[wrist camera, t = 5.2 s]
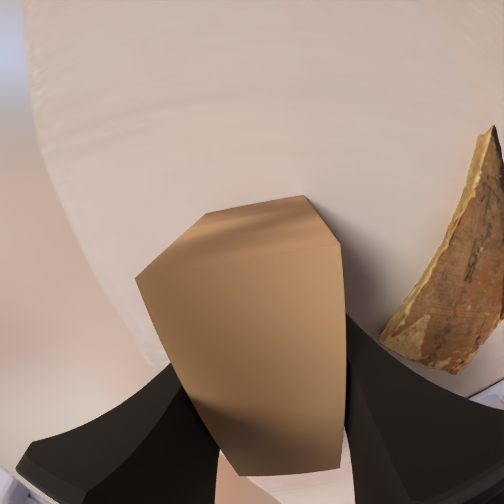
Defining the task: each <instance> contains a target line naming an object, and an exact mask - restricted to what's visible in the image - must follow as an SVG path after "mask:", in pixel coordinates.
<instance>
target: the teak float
mask: <svg viewBox="0 0 504 504" xmlns="http://www.w3.org/2000/svg"><path fill="white" fill-rule="evenodd" d="M135 280H136V282H137V285H138V288H139V290H140V293H141V296H142V298H143V301H144V303H145V306H146V308H147V311H148V313H149V315H150V318H151V320H152V322H153V325H154V327H155V329H156V332H157V334H158V336H159V338H160V341H161V343H162V345H163V347H164V349H165V351H166V353H167V355H168V358H169V360H170V362H171V364H172V366H173V368H174V370H175V372H176V374H177V376H178V378H179V379H180V381H181V383H182V385H183V387H184V389H185V391H186V393H187V394H188V396H189V398H190V400H191V402H192V403H193V405H194V407H195V409H196V410H197V412H198V414H199V416H200V417H201V419H202V421H203V422H204V424H205V426H206V427H207V429H208V430H209V432H210V434H211V435H212V437H213V438H214V440H215V442H216V443H217V445H218V446H219V448H220V449H221V451H222V452H223V454H224V455H225V457H226V458H227V460H228V461H229V462H230V464H231V465H232V467H233V468H234V470H235V471H236V472H237V474H238V475H239V476H276V475H291V474H301V473H310V472H318V471H325V470H331V469H337V468H340V462H341V453H342V442H343V430H344V415H345V394H346V321H345V298H344V282H343V269H342V257H341V247H340V243H339V242H338V241H337V239H336V238H335V236H334V235H333V234H332V232H331V231H330V230H329V228H328V227H327V225H326V224H325V223H324V221H323V220H322V219H321V217H320V216H319V215H318V213H317V212H316V211H315V209H314V208H313V207H312V206H311V204H310V203H309V202H308V200H307V199H306V198H305V197H304V195H301V196H295V197H289V198H284V199H278V200H272V201H267V202H262V203H256V204H251V205H246V206H241V207H236V208H231V209H226V210H221V211H216V212H211V213H207V214H205V215H204V216H203V217H202V218H201V219H199V220H198V221H197V222H196V223H195V224H194V225H192V226H191V227H190V228H189V229H188V230H187V231H186V232H185V233H183V234H182V235H181V236H180V237H179V238H178V239H177V240H176V241H174V242H173V243H172V244H171V245H170V246H169V247H168V248H167V249H166V250H165V251H163V252H162V253H161V254H160V255H159V256H158V257H157V258H156V259H155V260H154V261H153V262H152V263H151V264H149V265H148V266H147V267H146V268H145V269H144V270H143V271H142V272H141V273H140V274H139V275H138V276H137V277H136V278H135Z"/></svg>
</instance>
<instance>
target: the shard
mask: <svg viewBox="0 0 504 504" xmlns="http://www.w3.org/2000/svg"><path fill="white" fill-rule="evenodd" d="M503 319H504V163H503V160H502V152H501V146H500V143H499V139H498V135H497V130H496V127H495V125H492V126H491V128H490V130H488V131H487V132H486V133H485V135H481V134H479V135H478V139H477V144H476V148H475V151H474V155H473V158H472V160H471V165H470V168H469V172H468V176H467V180H466V184H465V187H464V190H463V194H462V197H461V199H460V201H459V204H458V206H457V209H456V211H455V213H454V214H453V219H452V221H451V223H450V224H449V226H448V229H447V232H446V236H445V239H444V241H443V242H442V244H441V246H440V247H439V248H438V250H437V252H436V254H435V256H434V257H433V258H432V260H431V262H430V264H429V266H428V267H427V268H426V269H425V271H424V273H423V275H422V277H421V278H420V280H419V282H418V283H417V284H416V285H415V287H414V289H413V291H412V292H411V293H410V295H409V296H408V297H407V298H406V299H405V300H404V302H403V304H402V305H401V306H400V308H399V309H398V310H397V311H396V313H395V314H394V315H393V316H392V317H391V318H390V320H389V321H388V323H387V325H386V328H385V329H384V330H383V331H382V332H381V333H380V334H379V340H380V343H381V344H383V345H385V346H386V347H387V348H389V349H390V350H393V351H395V352H397V353H399V354H401V355H403V356H404V357H405V358H407V359H408V360H411V361H414V362H418V363H421V364H423V365H426V366H428V365H430V366H432V367H433V368H437V369H440V370H444V371H446V372H447V373H449V374H451V375H456V374H459V373H460V372H461V371H462V370H463V369H464V368H465V367H466V365H467V364H468V363H469V362H470V361H471V359H472V358H473V357H474V355H475V354H476V353H477V351H478V350H479V348H480V347H481V346H482V345H483V344H484V342H485V341H486V340H487V338H488V337H489V336H490V335H491V333H492V332H493V330H494V329H495V328H496V327H497V325H498V324H499V323H500V322H501V321H502V320H503Z"/></svg>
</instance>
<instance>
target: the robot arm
mask: <svg viewBox="0 0 504 504" xmlns="http://www.w3.org/2000/svg"><path fill="white" fill-rule="evenodd" d="M345 321H346V394H345V415H344V427H345V431H346V434H347V438H348V443H349V448H350V455H351V463H352V472H353V481H354V492H355V504H504V405H503V403H502V402H501V400H502V398H503V396H504V380H502V381H500V382H499V383H497V384H495V385H493V386H492V387H490V388H488V389H486V390H484V391H483V392H481V393H479V394H477V395H475V396H473V397H471V398H469V399H466V398H464V397H461V396H459V395H456V394H454V393H452V392H450V391H448V390H446V389H444V388H442V387H440V386H438V385H436V384H434V383H432V382H430V381H428V380H426V379H425V378H423V377H422V376H420V375H418V374H417V373H415V372H413V371H412V370H411V369H409V368H408V367H406V366H405V365H403V364H402V363H401V362H399V361H398V360H397V359H395V358H394V357H393V356H391V355H390V354H389V353H388V352H386V351H385V350H384V349H383V348H382V347H381V346H379V345H378V344H377V343H376V342H375V341H374V340H373V339H371V338H370V337H369V336H368V335H367V334H366V333H365V332H364V331H363V330H362V329H361V328H360V327H359V326H358V325H357V324H356V323H355V322H354V321H353V320H352V319H351V318H350V317H349V316H348V315H347V314H346V313H345ZM219 451H220V448H219V446H218V445H217V443H216V442H215V440H214V438H213V437H212V435H211V434H210V432H209V430H208V429H207V427H206V426H205V424H204V422H203V421H202V419H201V417H200V416H199V414H198V412H197V410H196V409H195V407H194V405H193V403H192V402H191V400H190V398H189V396H188V394H187V393H186V391H185V389H184V387H183V385H182V383H181V381H180V379H179V378H178V376H177V374H176V372H175V370H174V368H173V366H172V364H171V363H170V364H169V365H168V366H167V367H166V368H165V369H164V370H162V371H161V372H160V373H159V374H158V375H157V376H156V377H155V378H153V379H152V380H151V381H150V382H149V383H148V384H147V385H146V386H144V387H143V388H142V389H141V390H139V391H138V392H137V393H136V394H134V395H133V396H131V397H130V398H129V399H127V400H126V401H124V402H123V403H122V404H120V405H118V406H117V407H115V408H114V409H112V410H110V411H108V412H107V413H105V414H103V415H101V416H100V417H98V418H96V419H94V420H92V421H90V422H88V423H86V424H84V425H82V426H80V427H77V428H75V429H73V430H70V431H68V432H65V433H62V434H59V435H56V436H53V437H49V438H45V439H42V440H38V441H34V442H32V443H31V444H30V446H29V447H28V449H27V451H26V452H25V454H24V455H23V457H22V458H21V460H20V461H19V463H18V465H17V466H16V471H17V472H18V473H19V474H20V475H21V476H22V477H23V478H25V479H26V480H27V481H28V482H30V483H31V484H32V485H34V486H35V487H36V488H38V489H39V490H40V491H42V492H43V493H45V494H46V495H47V496H49V497H50V498H52V499H53V500H55V501H56V502H58V503H60V504H215V488H216V476H217V466H218V457H219ZM0 504H51V503H49V502H47V501H46V500H45V499H43V498H42V497H40V496H39V495H37V494H36V493H35V492H33V491H32V490H30V489H28V488H27V487H26V486H25V485H23V484H22V483H21V482H20V481H19V480H17V479H16V478H15V477H14V476H12V475H11V474H10V473H9V472H8V471H7V470H5V469H4V468H3V467H2V466H0Z"/></svg>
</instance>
